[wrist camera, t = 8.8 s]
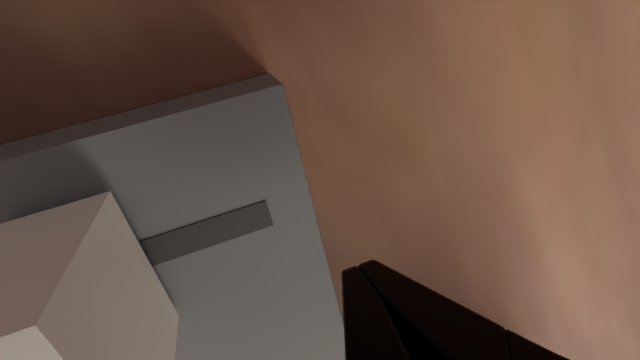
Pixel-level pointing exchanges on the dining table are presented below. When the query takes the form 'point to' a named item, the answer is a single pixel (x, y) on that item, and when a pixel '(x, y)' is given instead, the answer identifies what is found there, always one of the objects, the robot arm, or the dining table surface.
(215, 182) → the console board
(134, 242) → the white fader
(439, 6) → the dining table surface
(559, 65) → the dining table surface
